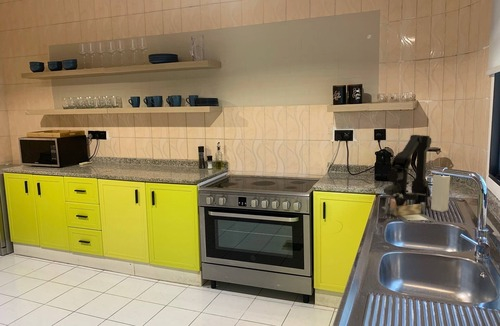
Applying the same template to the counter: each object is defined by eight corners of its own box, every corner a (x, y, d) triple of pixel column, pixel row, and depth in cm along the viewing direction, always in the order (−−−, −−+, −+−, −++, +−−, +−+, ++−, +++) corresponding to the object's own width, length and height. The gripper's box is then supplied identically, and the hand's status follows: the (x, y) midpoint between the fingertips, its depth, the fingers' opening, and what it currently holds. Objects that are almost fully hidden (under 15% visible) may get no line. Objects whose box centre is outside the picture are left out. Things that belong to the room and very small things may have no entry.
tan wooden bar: (418, 212, 206) (418, 203, 206) (421, 213, 204) (421, 204, 204) (393, 214, 202) (393, 206, 201) (396, 215, 199) (396, 207, 199)
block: (401, 207, 219) (401, 199, 219) (406, 209, 213) (406, 201, 213) (390, 207, 219) (390, 199, 218) (395, 209, 213) (395, 201, 212)
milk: (448, 210, 212) (451, 170, 209) (440, 212, 209) (443, 170, 206) (437, 208, 218) (440, 168, 215) (430, 209, 215) (433, 169, 212)
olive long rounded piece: (423, 213, 207) (424, 202, 206) (425, 214, 205) (426, 203, 204) (384, 214, 206) (385, 202, 205) (386, 215, 203) (386, 203, 203)
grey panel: (409, 207, 221) (409, 206, 221) (437, 221, 191) (437, 221, 191) (380, 207, 220) (380, 206, 220) (405, 222, 190) (405, 221, 190)
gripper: (376, 177, 208) (374, 206, 210) (401, 184, 190) (398, 215, 192) (393, 176, 211) (391, 205, 213) (419, 183, 194) (417, 214, 196)
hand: (399, 209), depth 204 cm, fingers closed
